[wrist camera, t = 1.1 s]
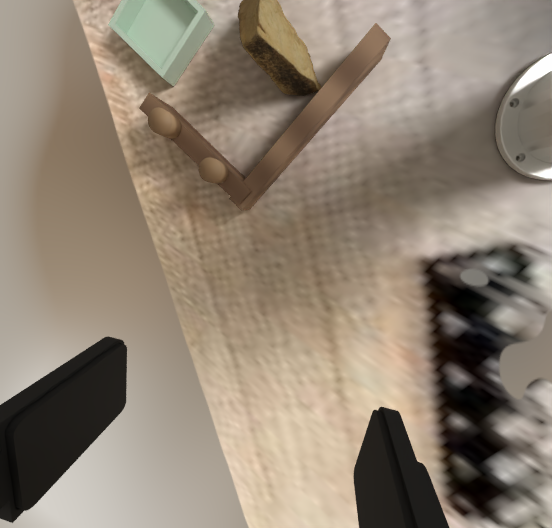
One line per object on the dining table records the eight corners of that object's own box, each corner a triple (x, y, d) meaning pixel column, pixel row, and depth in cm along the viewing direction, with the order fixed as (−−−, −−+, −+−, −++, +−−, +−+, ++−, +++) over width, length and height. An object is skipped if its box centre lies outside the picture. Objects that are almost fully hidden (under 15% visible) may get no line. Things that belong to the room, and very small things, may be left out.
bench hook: (278, -48, 28) (265, -132, 21) (380, 59, 29) (401, 14, 22) (162, 124, 34) (121, 104, 27) (250, 209, 35) (232, 211, 28)
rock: (218, -16, 28) (218, 86, 29) (251, -108, 20) (249, 34, 21) (304, 26, 33) (301, 110, 34) (355, -35, 25) (350, 76, 26)
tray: (161, -29, 30) (147, -49, 28) (214, 25, 31) (205, 10, 28) (123, 37, 32) (108, 24, 30) (173, 86, 33) (162, 77, 30)
